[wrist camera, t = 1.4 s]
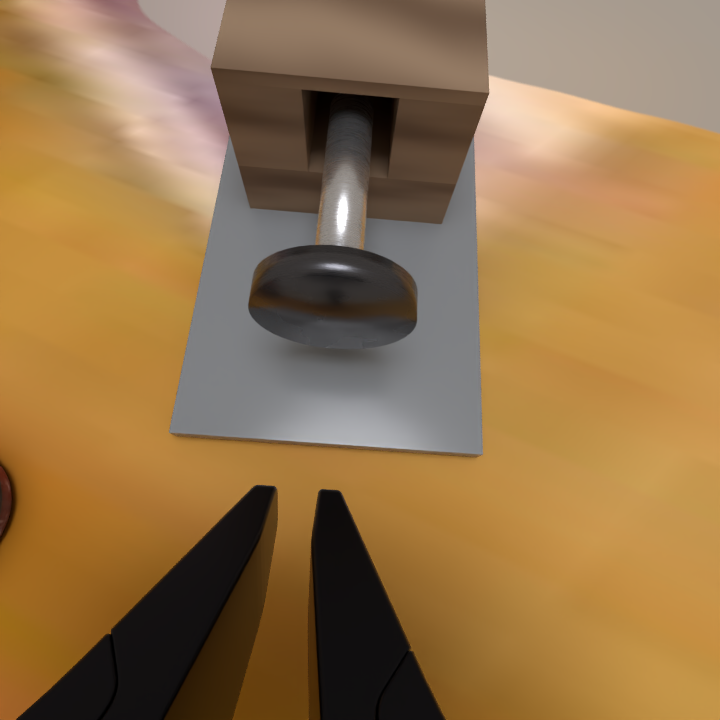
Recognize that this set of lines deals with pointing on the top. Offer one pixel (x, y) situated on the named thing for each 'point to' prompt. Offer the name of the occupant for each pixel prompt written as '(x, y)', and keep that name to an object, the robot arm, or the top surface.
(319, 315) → the plunger
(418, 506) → the top surface
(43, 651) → the top surface
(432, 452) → the slate board
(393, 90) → the press housing
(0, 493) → the supplement bottle
